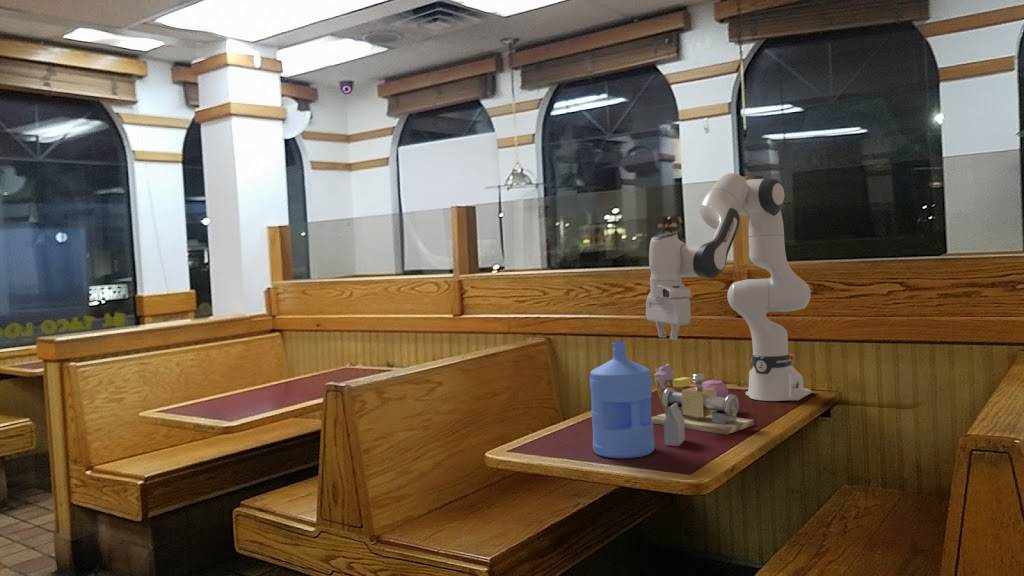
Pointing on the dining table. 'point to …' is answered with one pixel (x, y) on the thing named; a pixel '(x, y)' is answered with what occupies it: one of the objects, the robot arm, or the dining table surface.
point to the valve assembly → (704, 410)
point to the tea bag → (674, 427)
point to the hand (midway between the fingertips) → (668, 338)
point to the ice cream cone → (663, 380)
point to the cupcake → (717, 387)
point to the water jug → (621, 407)
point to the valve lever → (688, 380)
